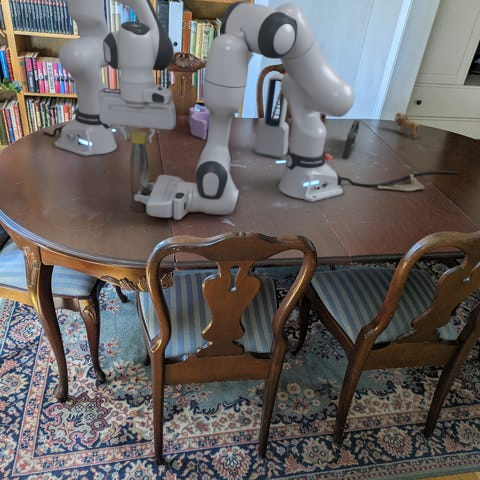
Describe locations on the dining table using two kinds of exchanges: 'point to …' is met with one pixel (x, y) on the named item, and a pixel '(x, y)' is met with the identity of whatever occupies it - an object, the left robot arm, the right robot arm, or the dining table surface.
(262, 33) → the right robot arm
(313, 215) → the dining table surface
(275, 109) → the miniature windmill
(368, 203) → the dining table surface
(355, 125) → the handheld gaming console
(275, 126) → the electronic device
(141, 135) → the cap
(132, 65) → the left robot arm
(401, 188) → the jawbone
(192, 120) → the clip
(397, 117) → the lion figurine
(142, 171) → the bottle
